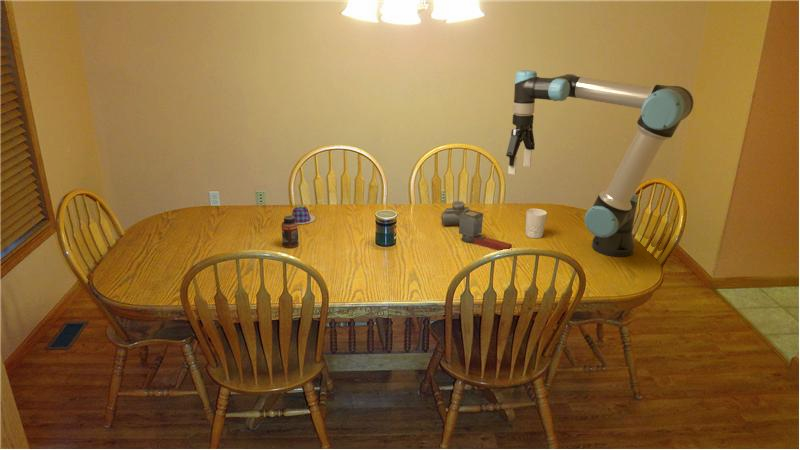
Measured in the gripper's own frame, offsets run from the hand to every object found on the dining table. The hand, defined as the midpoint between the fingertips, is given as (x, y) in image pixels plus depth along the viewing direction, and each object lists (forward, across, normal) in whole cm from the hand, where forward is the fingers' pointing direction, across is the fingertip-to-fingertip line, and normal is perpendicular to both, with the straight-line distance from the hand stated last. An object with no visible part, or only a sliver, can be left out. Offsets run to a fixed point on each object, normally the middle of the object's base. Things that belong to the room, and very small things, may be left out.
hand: (519, 170), depth 223 cm
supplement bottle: (+25, +60, -63) cm, 91 cm away
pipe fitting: (+27, +4, -25) cm, 37 cm away
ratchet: (+27, +15, -5) cm, 31 cm away
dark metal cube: (+24, +14, -12) cm, 30 cm away
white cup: (+28, -6, +6) cm, 29 cm away
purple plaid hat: (+25, +39, -79) cm, 92 cm away
